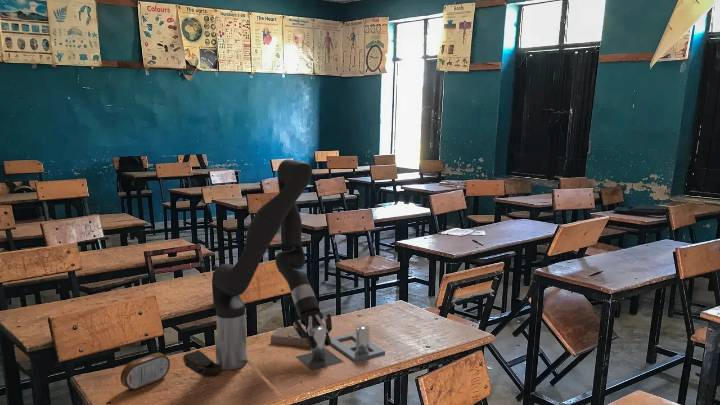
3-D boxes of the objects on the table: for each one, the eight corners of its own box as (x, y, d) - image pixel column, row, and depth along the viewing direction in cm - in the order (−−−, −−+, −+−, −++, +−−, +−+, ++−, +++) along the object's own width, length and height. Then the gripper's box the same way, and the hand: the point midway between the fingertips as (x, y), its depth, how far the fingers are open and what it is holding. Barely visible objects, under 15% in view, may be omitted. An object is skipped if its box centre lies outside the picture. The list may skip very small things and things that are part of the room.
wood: (176, 358, 182) (175, 349, 181) (197, 352, 186) (196, 344, 186) (202, 383, 165) (201, 373, 164) (224, 376, 169) (224, 366, 169)
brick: (269, 346, 191) (269, 333, 191) (278, 337, 200) (278, 325, 199) (313, 351, 188) (313, 338, 187) (320, 342, 196) (321, 330, 195)
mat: (311, 373, 170) (311, 370, 170) (295, 359, 180) (295, 356, 180) (344, 364, 177) (344, 361, 176) (326, 351, 187) (326, 348, 186)
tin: (166, 373, 170) (165, 348, 168) (172, 376, 168) (171, 350, 167) (120, 391, 158) (118, 364, 157) (126, 395, 156) (124, 367, 155)
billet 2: (360, 359, 181) (360, 331, 179) (353, 354, 184) (353, 326, 183) (371, 356, 183) (372, 328, 182) (364, 351, 187) (364, 324, 185)
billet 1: (315, 360, 175) (315, 331, 173) (309, 355, 179) (309, 327, 177) (328, 357, 177) (328, 328, 176) (321, 352, 181) (321, 324, 180)
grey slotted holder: (355, 364, 176) (355, 359, 176) (327, 344, 192) (327, 339, 192) (384, 356, 183) (385, 351, 183) (355, 337, 199) (355, 332, 198)
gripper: (289, 298, 178) (305, 346, 169) (327, 292, 185) (344, 337, 177) (282, 309, 183) (298, 355, 175) (319, 302, 191) (336, 346, 182)
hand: (321, 346), depth 176 cm, fingers closed on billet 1, 4 cm apart
